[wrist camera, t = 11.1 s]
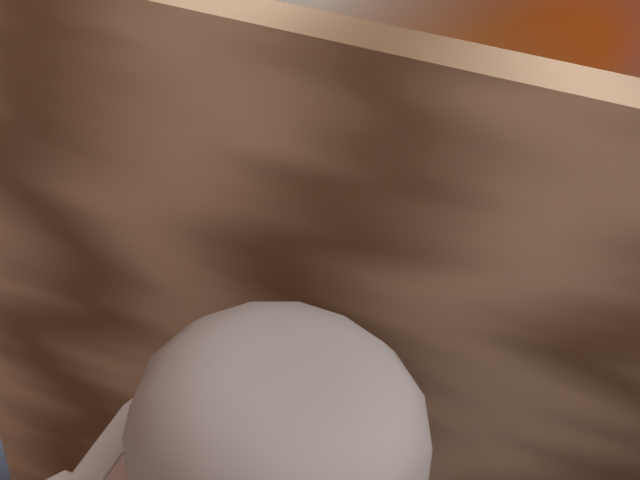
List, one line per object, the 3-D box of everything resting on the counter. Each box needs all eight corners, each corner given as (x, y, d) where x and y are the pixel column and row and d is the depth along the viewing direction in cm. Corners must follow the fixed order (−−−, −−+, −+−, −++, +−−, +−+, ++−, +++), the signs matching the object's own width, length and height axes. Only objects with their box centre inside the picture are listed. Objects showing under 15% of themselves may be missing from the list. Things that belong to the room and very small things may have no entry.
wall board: (565, 675, 20) (1030, 160, 9) (570, 744, 19) (1142, 219, 8) (59, 488, 23) (-40, -67, 12) (25, 533, 22) (-125, -60, 11)
